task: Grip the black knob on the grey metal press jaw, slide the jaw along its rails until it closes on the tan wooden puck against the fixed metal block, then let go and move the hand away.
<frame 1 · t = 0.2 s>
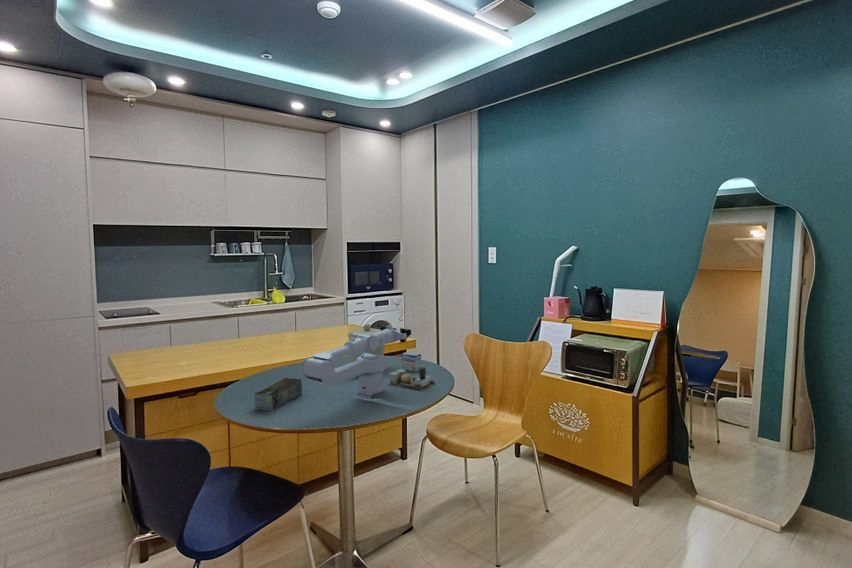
hand: (402, 331, 188), 21 cm above the table, tool horizontal, fingers open, 7 cm apart
medicine box: (411, 373, 203), on the table
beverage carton: (279, 402, 167), on the table
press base: (410, 387, 181), on the table
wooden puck: (406, 383, 182), point 1 cm above the table, touching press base
canister: (367, 369, 210), on the table
press jaw: (422, 376, 178), point 5 cm above the table, slide at 0.0 cm
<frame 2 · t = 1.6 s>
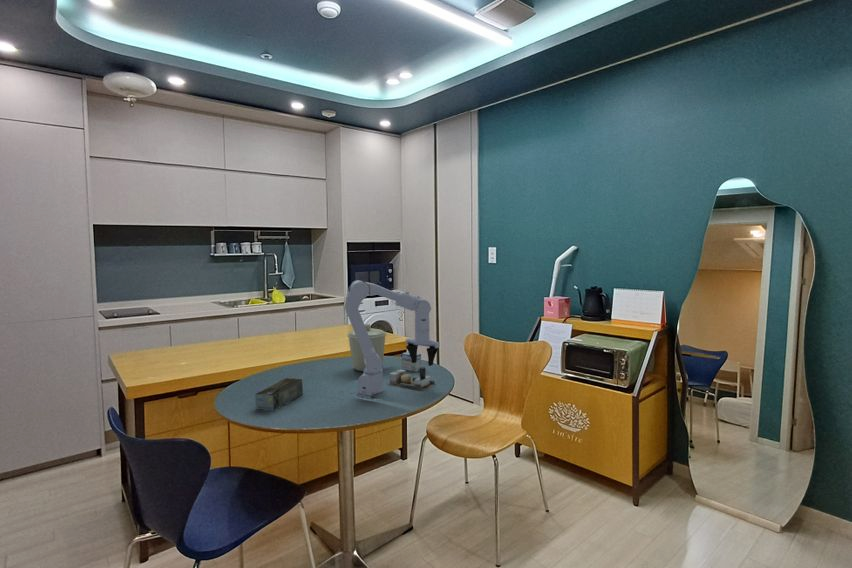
hand: (422, 363, 177), 10 cm above the table, tool pointing down, fingers open, 7 cm apart
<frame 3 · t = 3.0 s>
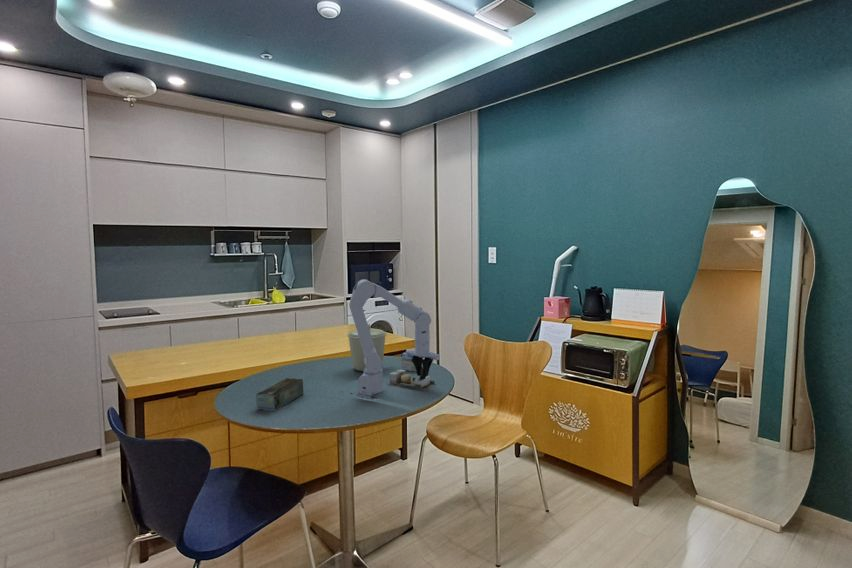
hand: (422, 375, 178), 6 cm above the table, tool pointing down, fingers closed on press jaw, 2 cm apart
press jaw: (422, 376, 178), point 5 cm above the table, slide at 0.0 cm, touching gripper
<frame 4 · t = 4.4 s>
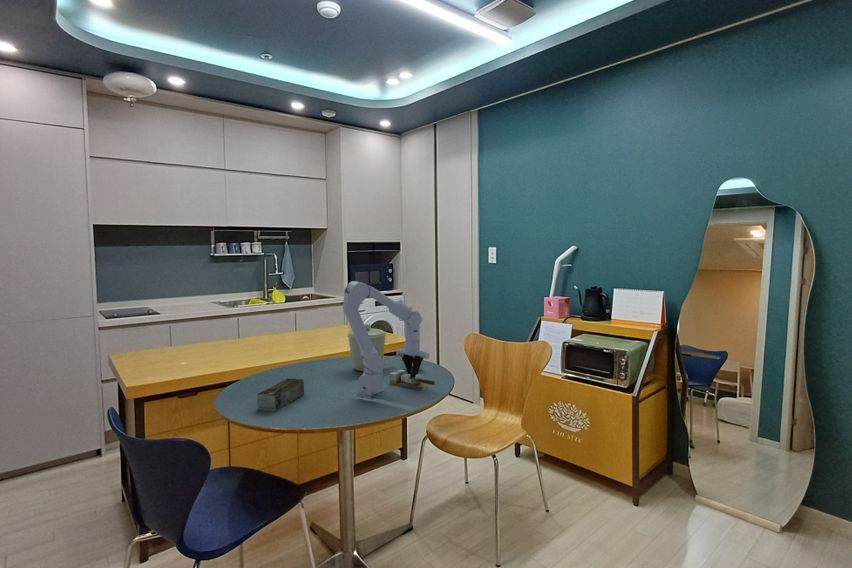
hand: (412, 374, 180), 6 cm above the table, tool pointing down, fingers closed on press jaw, 2 cm apart
press jaw: (412, 375, 180), point 5 cm above the table, slide at 4.6 cm, touching gripper
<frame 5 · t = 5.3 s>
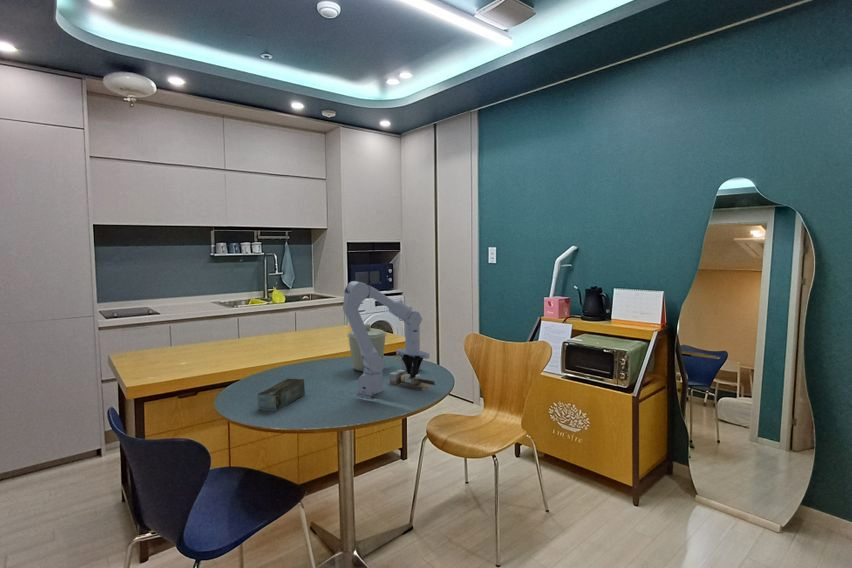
hand: (412, 374, 180), 6 cm above the table, tool pointing down, fingers closed on press jaw, 2 cm apart
press jaw: (412, 374, 180), point 5 cm above the table, slide at 4.6 cm, touching gripper
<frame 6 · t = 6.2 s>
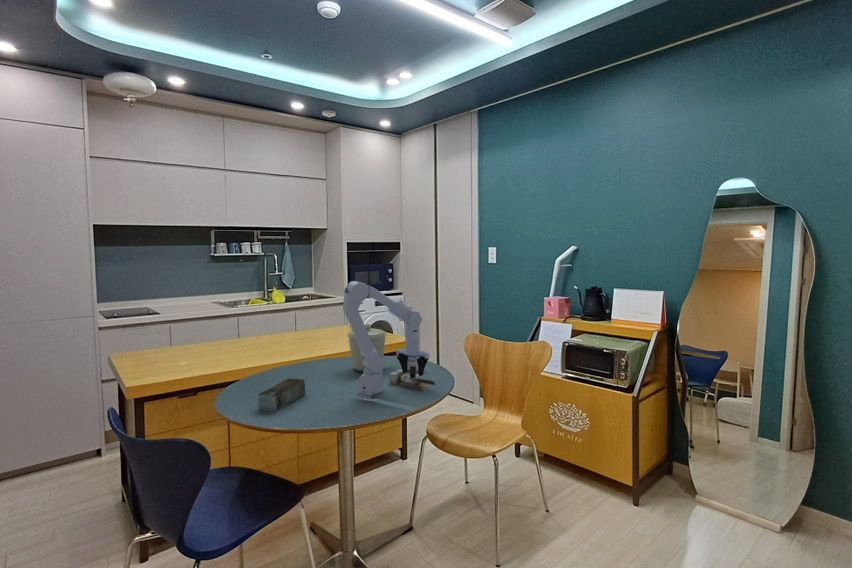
hand: (412, 374, 180), 6 cm above the table, tool pointing down, fingers open, 7 cm apart
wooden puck: (405, 382, 183), point 1 cm above the table, touching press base, press jaw
press jaw: (412, 374, 180), point 5 cm above the table, slide at 4.6 cm, touching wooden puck
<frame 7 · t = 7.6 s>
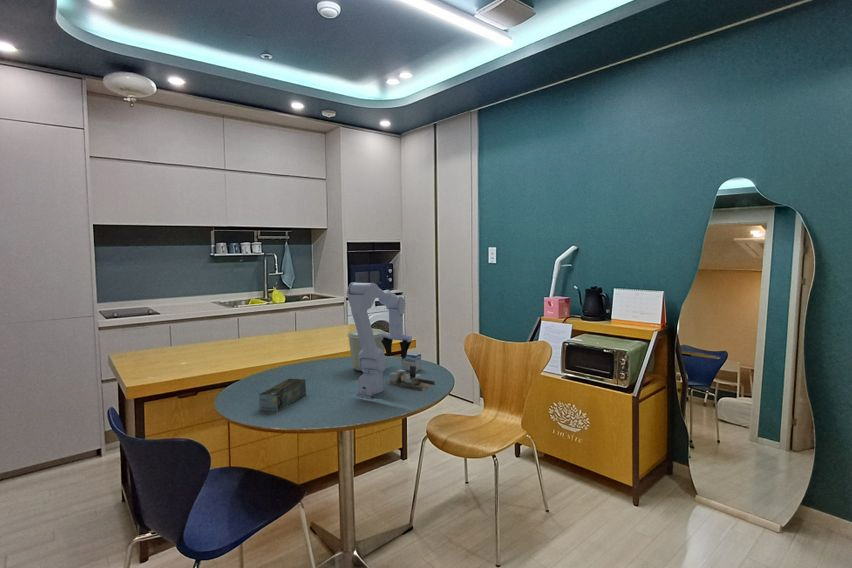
hand: (396, 356, 189), 10 cm above the table, tool pointing down, fingers open, 7 cm apart
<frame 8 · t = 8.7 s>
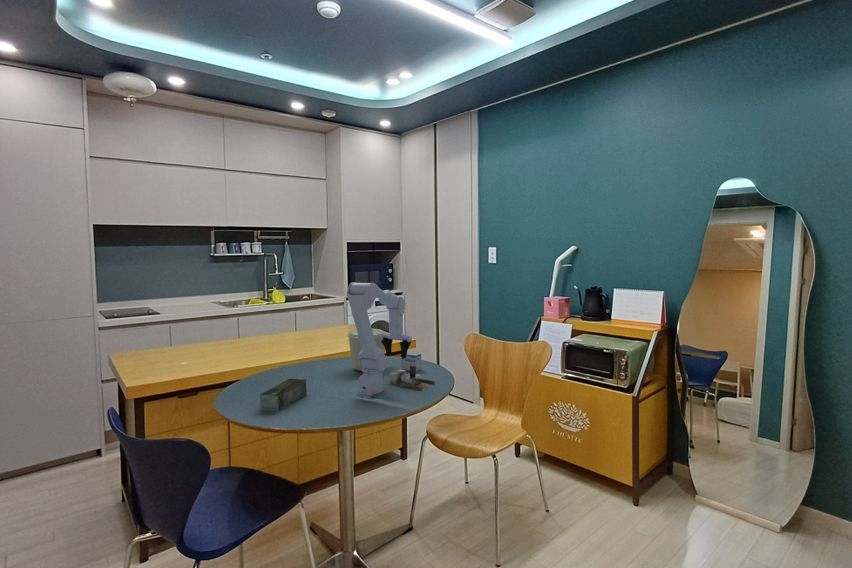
hand: (396, 356, 189), 10 cm above the table, tool pointing down, fingers open, 7 cm apart
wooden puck: (405, 382, 183), point 1 cm above the table, touching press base
press jaw: (412, 374, 180), point 5 cm above the table, slide at 4.6 cm
at the end: press jaw slide at 4.6 cm; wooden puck 0.1 cm from the target spot, point 1.5 cm above the table; the gripper is holding nothing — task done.
